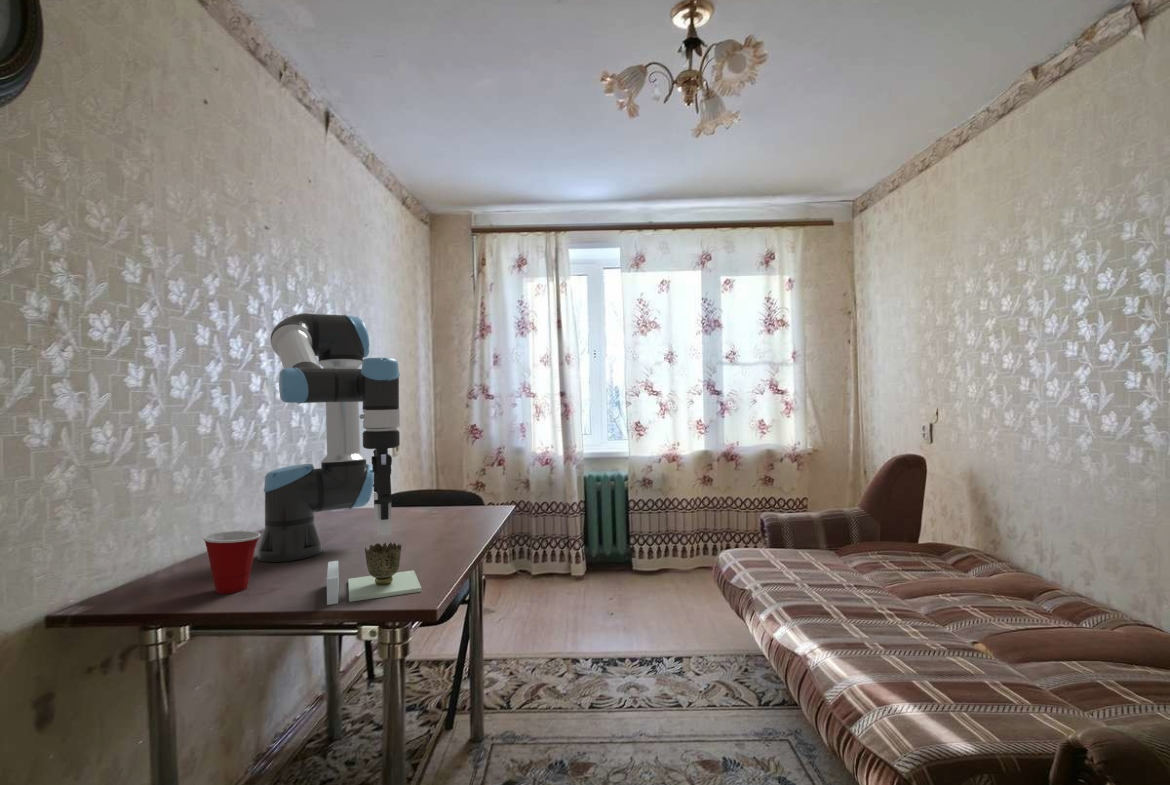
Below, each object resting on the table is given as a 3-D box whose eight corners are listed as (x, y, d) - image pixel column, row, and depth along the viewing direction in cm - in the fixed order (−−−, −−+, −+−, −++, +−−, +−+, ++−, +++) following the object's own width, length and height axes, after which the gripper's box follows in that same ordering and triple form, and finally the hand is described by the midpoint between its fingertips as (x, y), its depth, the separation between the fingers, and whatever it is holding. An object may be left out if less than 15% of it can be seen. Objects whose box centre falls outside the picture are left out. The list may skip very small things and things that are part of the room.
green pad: (348, 582, 129) (348, 578, 129) (414, 573, 135) (413, 570, 135) (349, 601, 116) (348, 597, 116) (421, 591, 122) (421, 587, 122)
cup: (390, 590, 121) (389, 551, 121) (358, 588, 122) (357, 550, 122) (408, 579, 128) (407, 542, 128) (377, 577, 129) (377, 541, 130)
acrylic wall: (328, 584, 128) (328, 561, 128) (338, 583, 129) (338, 560, 129) (327, 604, 115) (326, 579, 115) (338, 603, 116) (337, 577, 116)
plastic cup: (262, 591, 124) (261, 535, 124) (201, 601, 119) (200, 542, 119) (261, 578, 133) (260, 526, 134) (205, 587, 128) (204, 532, 128)
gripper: (360, 427, 136) (362, 518, 136) (364, 433, 113) (365, 543, 113) (394, 425, 139) (395, 515, 139) (404, 432, 116) (406, 539, 116)
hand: (382, 528), depth 126 cm, fingers open, 13 cm apart
